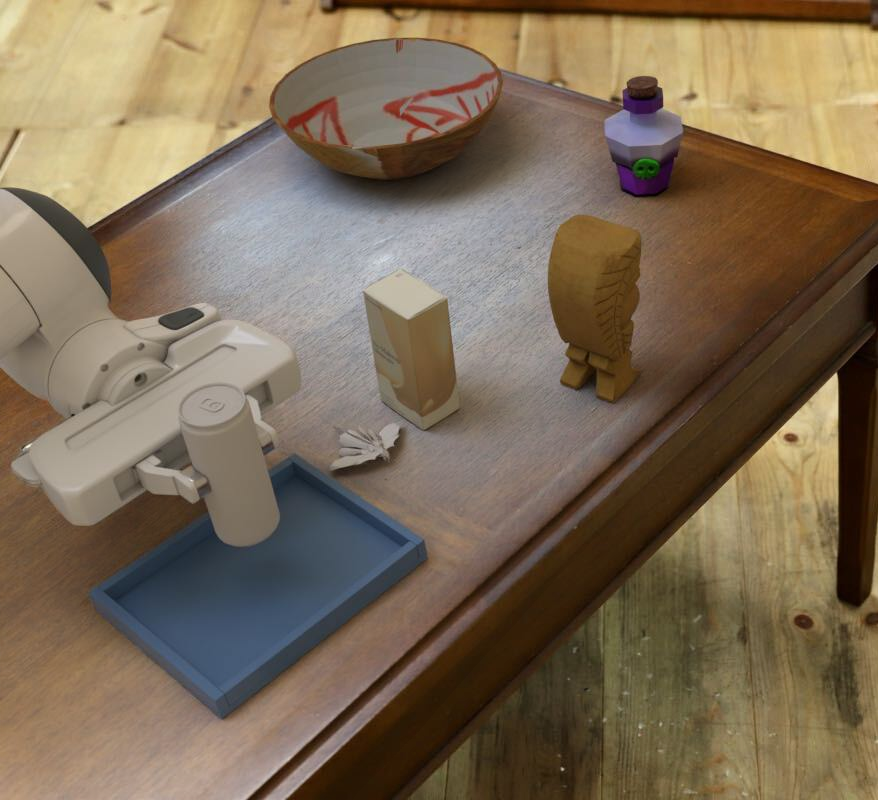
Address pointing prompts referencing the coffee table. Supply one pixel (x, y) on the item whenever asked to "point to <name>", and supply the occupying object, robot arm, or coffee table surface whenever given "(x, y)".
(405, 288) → the cosmetic box
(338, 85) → the bowl
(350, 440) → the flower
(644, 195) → the potion bottle
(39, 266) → the robot arm
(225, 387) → the beverage can
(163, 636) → the tray
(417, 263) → the coffee table surface
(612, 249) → the figurine
